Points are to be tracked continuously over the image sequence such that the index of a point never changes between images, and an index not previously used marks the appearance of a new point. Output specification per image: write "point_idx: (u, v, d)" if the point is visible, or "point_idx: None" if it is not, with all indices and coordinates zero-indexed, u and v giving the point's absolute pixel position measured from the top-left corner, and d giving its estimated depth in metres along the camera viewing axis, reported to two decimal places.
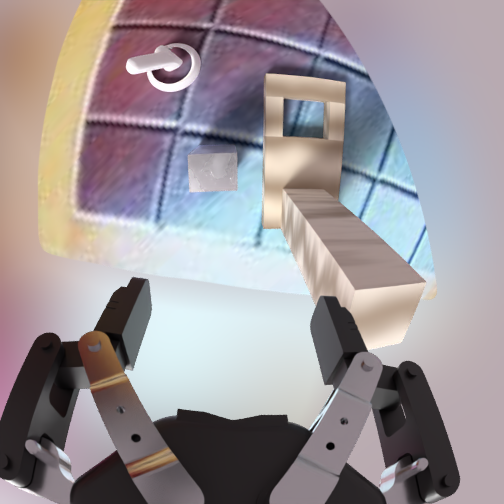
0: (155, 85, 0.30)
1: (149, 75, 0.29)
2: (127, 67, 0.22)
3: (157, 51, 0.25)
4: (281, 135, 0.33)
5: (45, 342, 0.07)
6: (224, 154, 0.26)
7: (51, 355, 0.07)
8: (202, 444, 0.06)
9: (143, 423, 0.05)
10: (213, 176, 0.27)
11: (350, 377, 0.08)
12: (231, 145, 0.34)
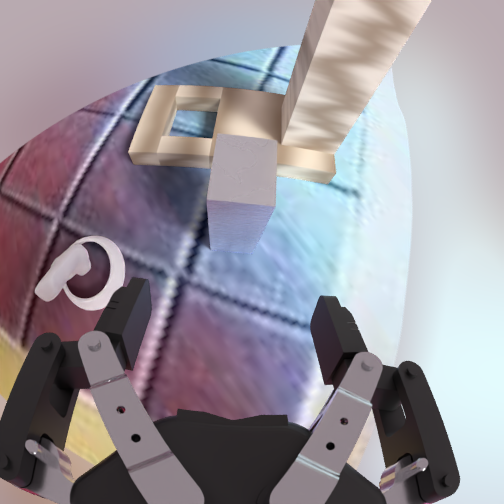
0: (108, 298, 0.23)
1: (91, 303, 0.22)
2: (45, 297, 0.14)
3: None
4: (210, 139, 0.26)
5: (45, 343, 0.07)
6: (217, 148, 0.16)
7: (51, 355, 0.07)
8: (202, 444, 0.06)
9: (143, 423, 0.05)
10: (252, 166, 0.16)
11: (350, 377, 0.08)
12: None
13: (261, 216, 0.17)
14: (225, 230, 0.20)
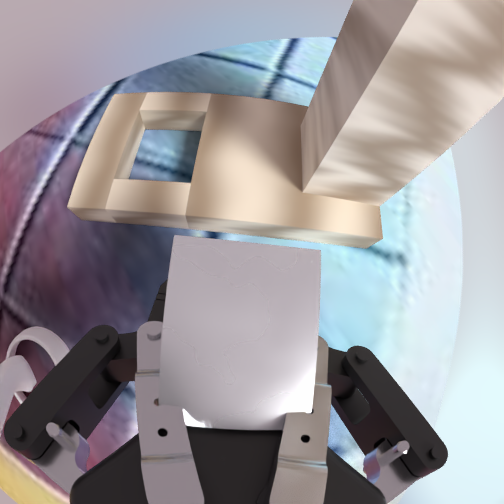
0: None
1: None
2: None
3: None
4: (187, 184, 0.17)
5: (101, 335, 0.08)
6: (172, 282, 0.07)
7: (109, 347, 0.08)
8: (202, 444, 0.06)
9: (175, 421, 0.05)
10: (260, 335, 0.07)
11: None
12: None
13: None
14: None
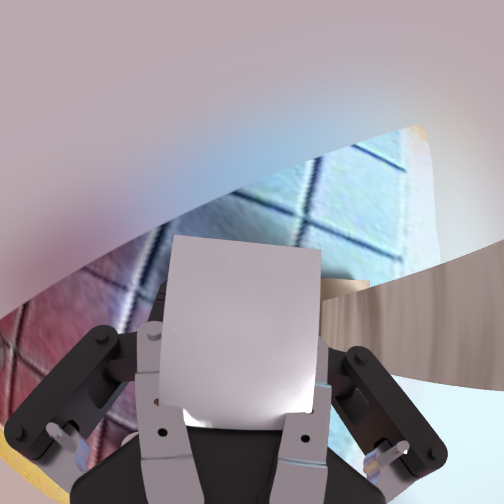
0: None
1: None
2: None
3: None
4: None
5: (101, 335, 0.08)
6: (172, 282, 0.07)
7: (109, 348, 0.08)
8: (202, 444, 0.06)
9: (175, 421, 0.05)
10: (260, 335, 0.07)
11: None
12: None
13: None
14: None
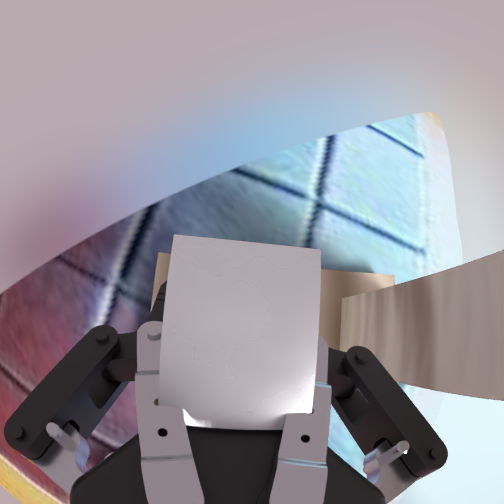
0: None
1: None
2: None
3: None
4: None
5: (101, 335, 0.08)
6: (172, 282, 0.07)
7: (109, 347, 0.08)
8: (202, 444, 0.06)
9: (175, 421, 0.05)
10: (260, 335, 0.07)
11: None
12: None
13: None
14: None
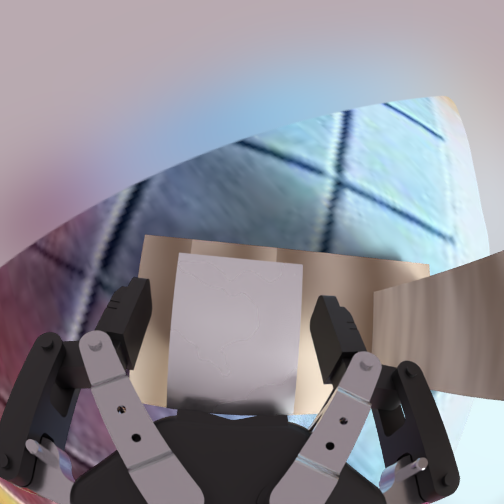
0: None
1: None
2: None
3: None
4: None
5: (46, 342, 0.07)
6: (178, 292, 0.08)
7: (52, 355, 0.07)
8: (202, 444, 0.06)
9: (144, 423, 0.05)
10: (251, 336, 0.08)
11: (349, 377, 0.08)
12: None
13: None
14: None
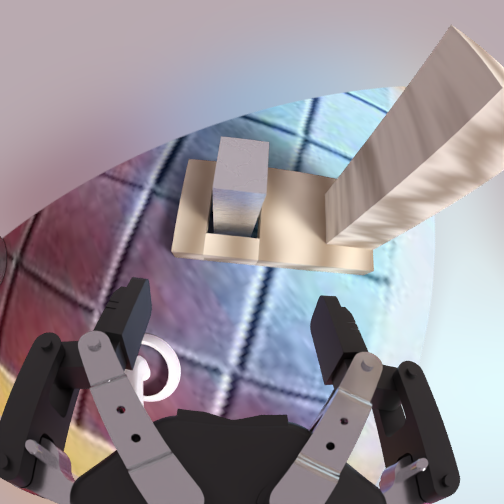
0: (168, 394, 0.24)
1: (152, 399, 0.23)
2: None
3: None
4: (257, 239, 0.28)
5: (45, 343, 0.07)
6: (220, 148, 0.21)
7: (51, 355, 0.07)
8: (202, 444, 0.06)
9: (143, 423, 0.05)
10: (248, 162, 0.21)
11: (350, 377, 0.08)
12: None
13: (255, 202, 0.22)
14: (226, 215, 0.24)
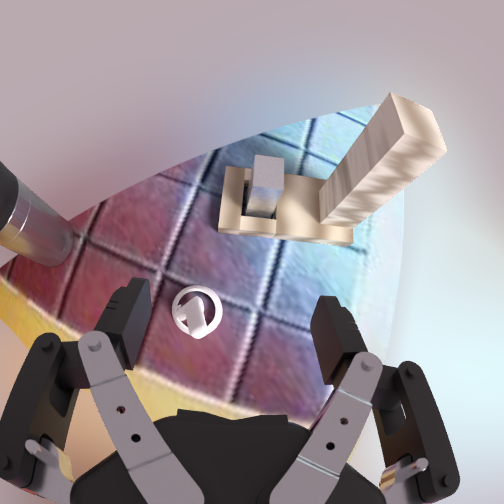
0: (213, 327, 0.39)
1: None
2: (199, 336, 0.30)
3: (182, 316, 0.35)
4: (275, 220, 0.42)
5: (45, 343, 0.07)
6: (255, 162, 0.35)
7: (51, 355, 0.07)
8: (202, 444, 0.06)
9: (143, 423, 0.05)
10: (272, 171, 0.35)
11: (350, 377, 0.08)
12: None
13: (276, 195, 0.36)
14: (256, 203, 0.39)
